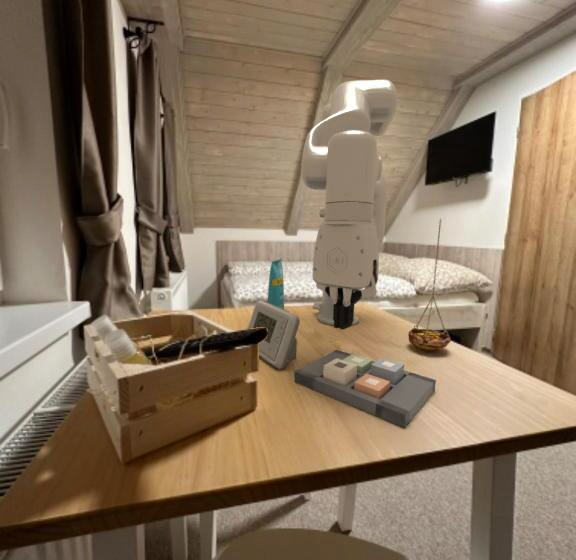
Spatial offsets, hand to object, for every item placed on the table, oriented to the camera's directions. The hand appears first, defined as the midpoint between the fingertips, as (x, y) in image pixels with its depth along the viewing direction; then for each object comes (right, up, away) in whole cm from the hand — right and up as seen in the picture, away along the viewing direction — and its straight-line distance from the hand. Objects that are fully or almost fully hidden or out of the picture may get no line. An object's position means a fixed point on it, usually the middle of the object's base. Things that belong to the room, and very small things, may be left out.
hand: (342, 327), depth 54 cm
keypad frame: (+4, -11, +3) cm, 12 cm away
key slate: (+8, -9, +3) cm, 13 cm away
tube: (-12, -6, +31) cm, 34 cm away
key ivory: (0, -9, +2) cm, 10 cm away
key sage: (+4, -10, +7) cm, 12 cm away
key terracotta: (+4, -11, -2) cm, 12 cm away
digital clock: (-13, -9, +15) cm, 22 cm away
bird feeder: (+23, -9, +20) cm, 32 cm away
